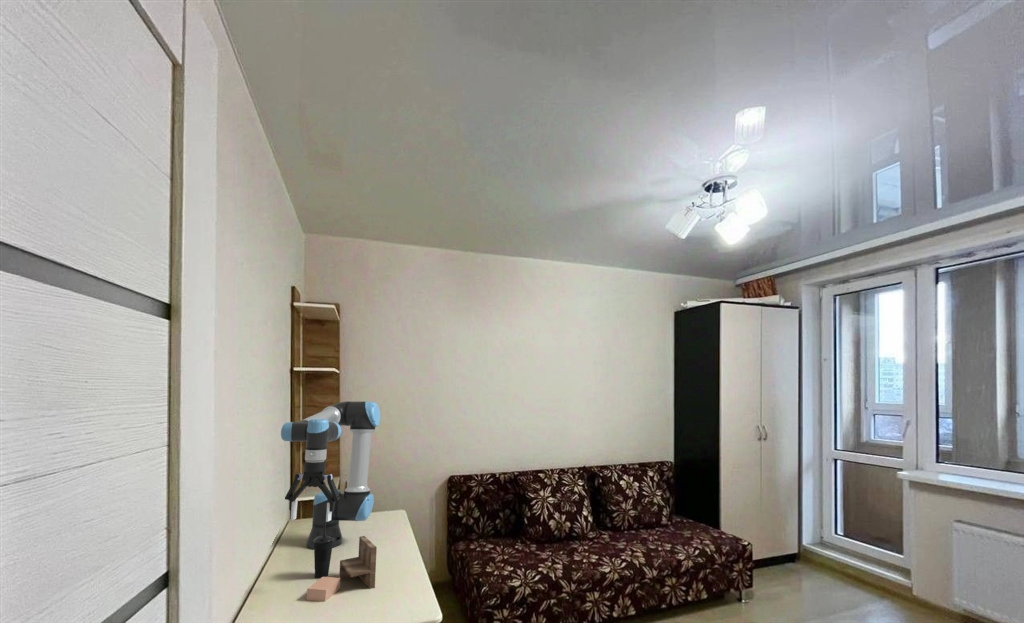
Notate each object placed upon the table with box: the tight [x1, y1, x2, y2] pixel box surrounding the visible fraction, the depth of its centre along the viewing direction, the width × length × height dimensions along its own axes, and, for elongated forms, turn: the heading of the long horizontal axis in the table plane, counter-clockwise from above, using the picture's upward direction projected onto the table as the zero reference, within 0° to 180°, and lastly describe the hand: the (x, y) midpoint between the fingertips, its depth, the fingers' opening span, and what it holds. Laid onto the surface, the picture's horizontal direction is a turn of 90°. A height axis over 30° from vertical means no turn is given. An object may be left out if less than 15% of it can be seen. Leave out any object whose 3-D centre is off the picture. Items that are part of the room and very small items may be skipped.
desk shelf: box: [338, 535, 378, 589], centre depth 180 cm, size 15×9×14 cm, turn 34°
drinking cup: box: [313, 522, 334, 579], centre depth 186 cm, size 8×8×20 cm
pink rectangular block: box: [306, 576, 341, 602], centre depth 170 cm, size 7×10×4 cm
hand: (310, 520), depth 177 cm, fingers open, 13 cm apart
